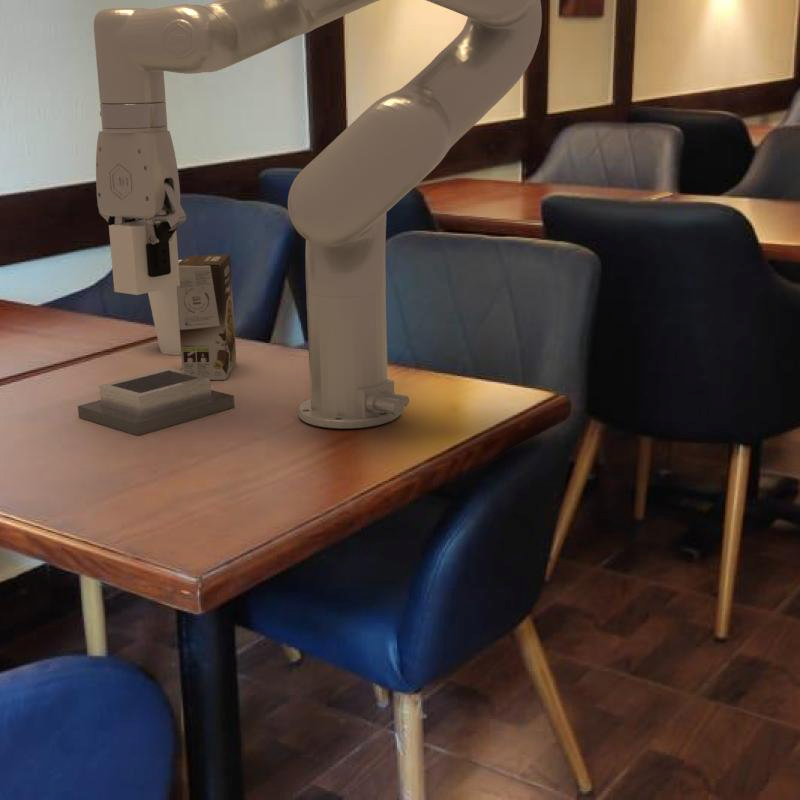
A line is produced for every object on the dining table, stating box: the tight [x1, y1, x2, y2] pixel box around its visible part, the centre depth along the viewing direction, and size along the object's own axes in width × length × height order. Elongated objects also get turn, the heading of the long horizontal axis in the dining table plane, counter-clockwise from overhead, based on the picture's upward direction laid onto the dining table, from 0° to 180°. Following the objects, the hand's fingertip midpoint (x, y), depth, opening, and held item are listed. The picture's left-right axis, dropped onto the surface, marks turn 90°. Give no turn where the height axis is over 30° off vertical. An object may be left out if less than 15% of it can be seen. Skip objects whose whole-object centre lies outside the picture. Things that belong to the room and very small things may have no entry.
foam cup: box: [147, 259, 183, 356], centre depth 181 cm, size 10×9×13 cm
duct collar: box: [77, 367, 235, 437], centre depth 150 cm, size 12×15×4 cm
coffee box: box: [177, 253, 237, 381], centre depth 167 cm, size 9×6×16 cm
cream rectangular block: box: [108, 219, 180, 296], centre depth 145 cm, size 7×4×8 cm, turn 144°
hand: (146, 272), depth 146 cm, fingers closed on cream rectangular block, 4 cm apart
